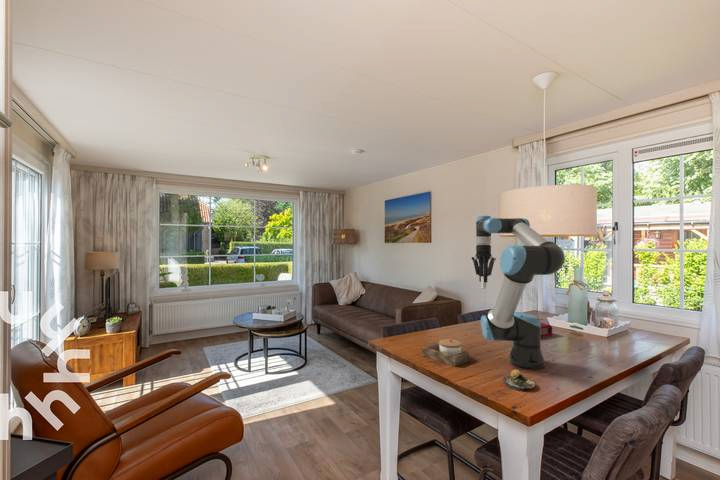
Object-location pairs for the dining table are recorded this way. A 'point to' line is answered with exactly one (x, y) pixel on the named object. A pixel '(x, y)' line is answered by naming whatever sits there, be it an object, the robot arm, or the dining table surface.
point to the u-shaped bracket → (444, 355)
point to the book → (546, 330)
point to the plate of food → (518, 381)
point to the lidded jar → (450, 346)
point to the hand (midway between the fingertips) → (483, 288)
